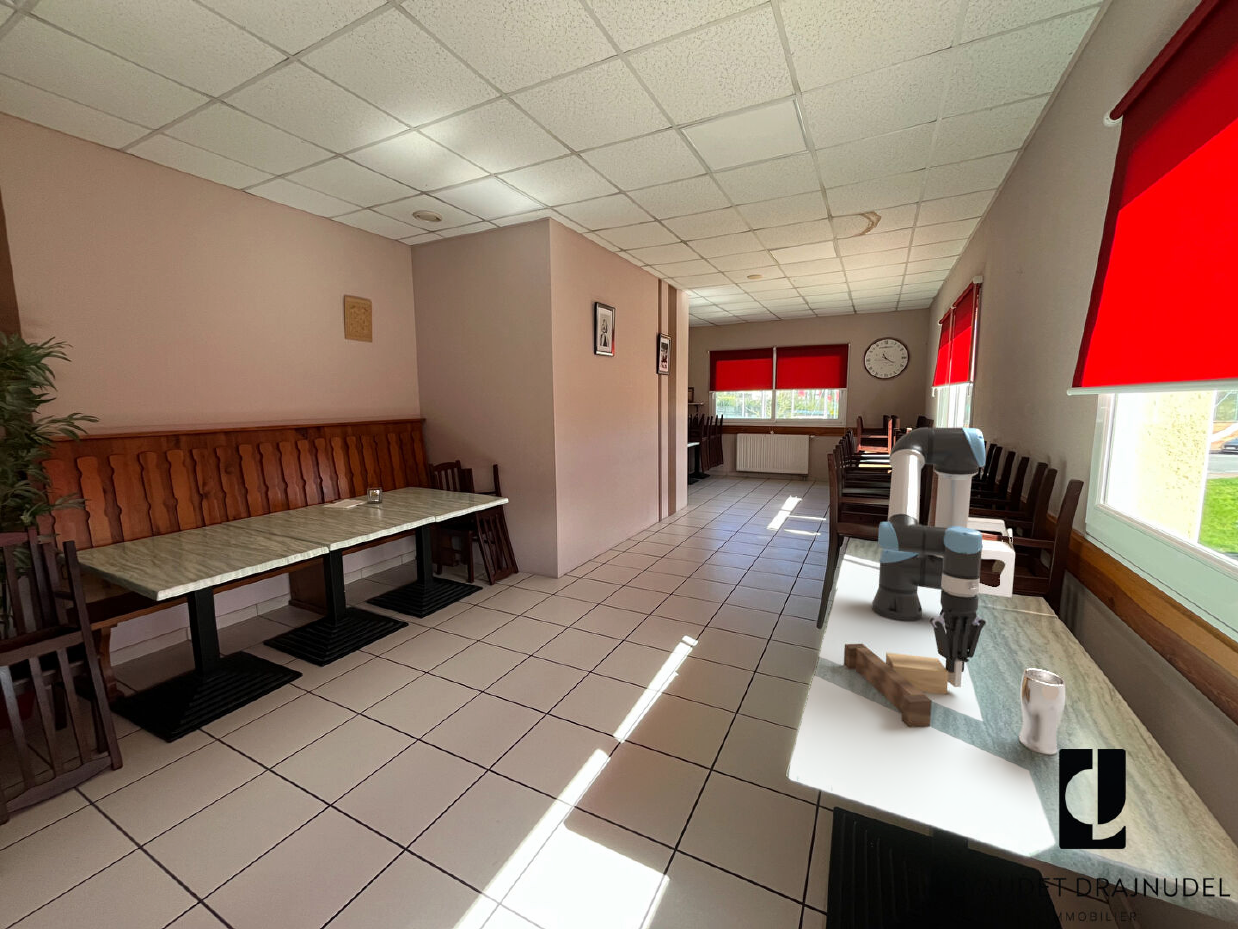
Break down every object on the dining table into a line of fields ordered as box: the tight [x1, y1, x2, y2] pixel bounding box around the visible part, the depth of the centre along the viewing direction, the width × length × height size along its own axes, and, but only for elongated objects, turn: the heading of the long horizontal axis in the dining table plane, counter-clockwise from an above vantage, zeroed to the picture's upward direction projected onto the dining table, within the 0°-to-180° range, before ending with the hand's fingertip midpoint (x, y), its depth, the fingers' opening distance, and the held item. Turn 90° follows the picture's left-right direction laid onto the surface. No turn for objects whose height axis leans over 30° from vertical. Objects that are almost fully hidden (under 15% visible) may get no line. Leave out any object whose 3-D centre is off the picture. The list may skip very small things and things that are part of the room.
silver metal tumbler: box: [1018, 668, 1066, 756], centre depth 101 cm, size 7×7×15 cm
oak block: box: [885, 652, 949, 695], centre depth 124 cm, size 7×12×6 cm, turn 75°
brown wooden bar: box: [843, 643, 932, 728], centre depth 120 cm, size 27×5×6 cm, turn 4°
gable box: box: [967, 516, 1016, 598], centre depth 190 cm, size 22×13×28 cm, turn 62°
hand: (953, 683), depth 121 cm, fingers closed
